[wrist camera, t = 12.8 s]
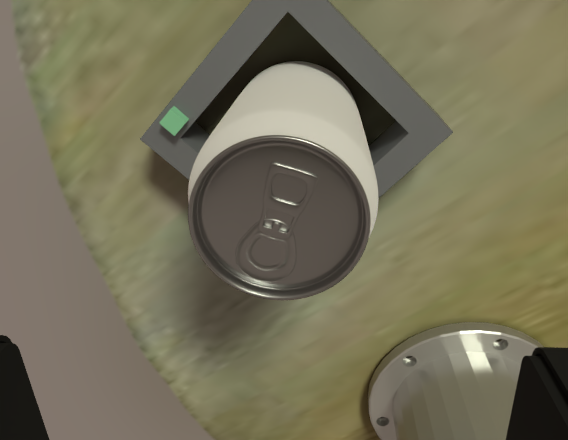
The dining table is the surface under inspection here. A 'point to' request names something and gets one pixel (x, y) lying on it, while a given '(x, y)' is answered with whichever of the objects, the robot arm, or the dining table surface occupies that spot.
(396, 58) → the dining table surface
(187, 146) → the gray square frame
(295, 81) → the can
